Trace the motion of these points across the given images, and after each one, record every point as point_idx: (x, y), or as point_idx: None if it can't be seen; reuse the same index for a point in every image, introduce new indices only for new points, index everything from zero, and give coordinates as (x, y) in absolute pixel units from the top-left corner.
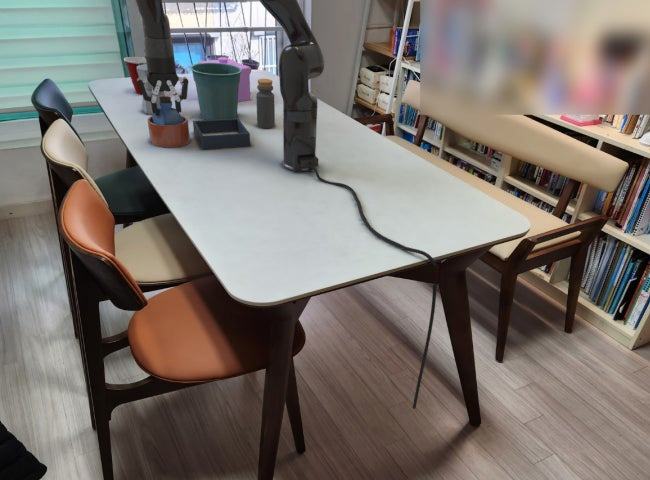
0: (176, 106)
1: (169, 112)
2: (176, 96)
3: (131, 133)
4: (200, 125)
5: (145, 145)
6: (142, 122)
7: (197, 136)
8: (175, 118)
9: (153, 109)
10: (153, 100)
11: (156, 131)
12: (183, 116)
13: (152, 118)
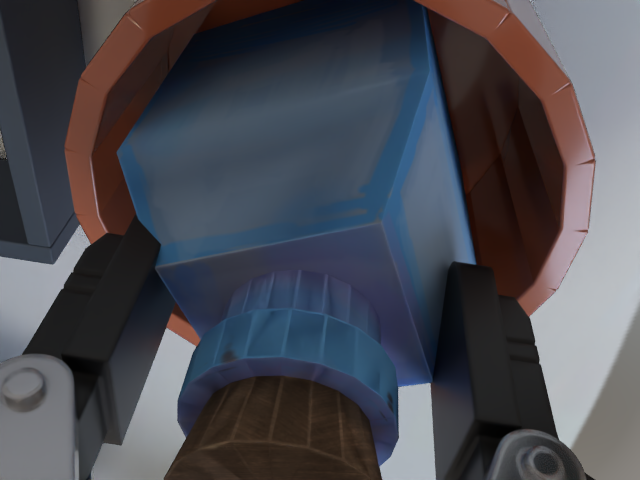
0: (130, 300)
1: (290, 219)
2: (23, 466)
3: (568, 328)
4: (2, 209)
5: (617, 48)
6: (410, 446)
7: (54, 5)
8: (225, 142)
9: (516, 346)
10: (544, 474)
11: (546, 33)
12: None
13: None
